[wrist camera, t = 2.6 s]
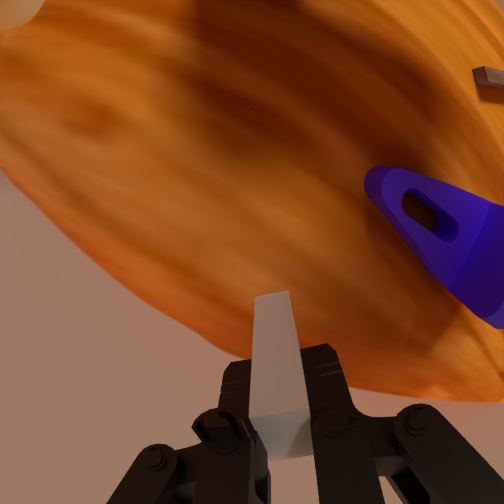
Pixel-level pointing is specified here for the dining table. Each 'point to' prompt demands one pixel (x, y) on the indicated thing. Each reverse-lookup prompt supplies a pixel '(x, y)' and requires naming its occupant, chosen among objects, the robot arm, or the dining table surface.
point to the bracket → (449, 237)
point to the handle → (489, 77)
